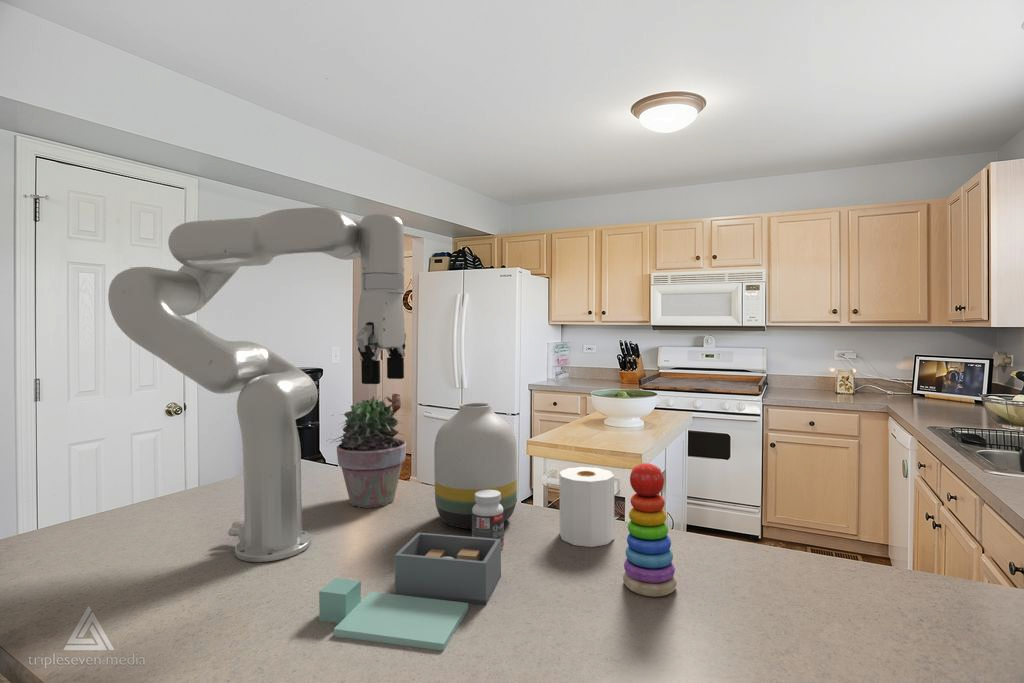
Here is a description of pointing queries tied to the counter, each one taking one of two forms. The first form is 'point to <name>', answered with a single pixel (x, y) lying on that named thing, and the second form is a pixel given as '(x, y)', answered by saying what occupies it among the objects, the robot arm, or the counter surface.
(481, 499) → the pill bottle
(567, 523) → the toilet paper
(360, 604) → the mint slab with cube
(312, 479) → the counter surface
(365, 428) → the potted plant
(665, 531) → the stacking toy
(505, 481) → the vase
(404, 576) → the tub
